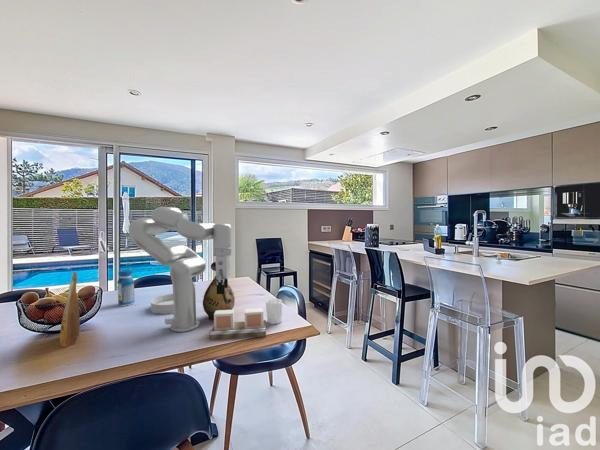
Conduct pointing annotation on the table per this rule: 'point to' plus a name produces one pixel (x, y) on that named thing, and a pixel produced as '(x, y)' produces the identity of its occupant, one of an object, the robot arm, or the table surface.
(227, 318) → the turned carton
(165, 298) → the dish
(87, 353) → the table surface
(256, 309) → the carton
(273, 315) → the white cup
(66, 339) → the pancake mix bag
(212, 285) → the ceramic jug
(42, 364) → the table surface
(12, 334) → the table surface
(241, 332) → the grey rectangular tray
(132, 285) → the beverage bottle
